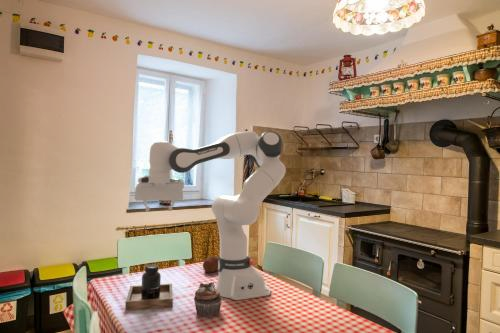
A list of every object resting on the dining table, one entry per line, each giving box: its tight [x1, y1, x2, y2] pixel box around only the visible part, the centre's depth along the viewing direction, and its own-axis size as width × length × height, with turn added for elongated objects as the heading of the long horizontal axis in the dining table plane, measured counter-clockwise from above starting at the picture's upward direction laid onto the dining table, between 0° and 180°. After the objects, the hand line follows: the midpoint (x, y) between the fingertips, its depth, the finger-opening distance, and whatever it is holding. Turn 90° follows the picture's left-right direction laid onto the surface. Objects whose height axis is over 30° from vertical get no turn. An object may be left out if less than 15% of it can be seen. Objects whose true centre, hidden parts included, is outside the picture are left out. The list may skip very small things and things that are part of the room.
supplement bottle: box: [141, 263, 162, 300], centre depth 129 cm, size 7×7×12 cm
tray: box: [125, 283, 174, 311], centre depth 129 cm, size 16×16×3 cm
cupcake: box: [193, 281, 223, 319], centre depth 119 cm, size 10×10×10 cm
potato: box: [202, 255, 219, 274], centre depth 166 cm, size 8×11×8 cm
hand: (159, 210), depth 148 cm, fingers open, 8 cm apart
